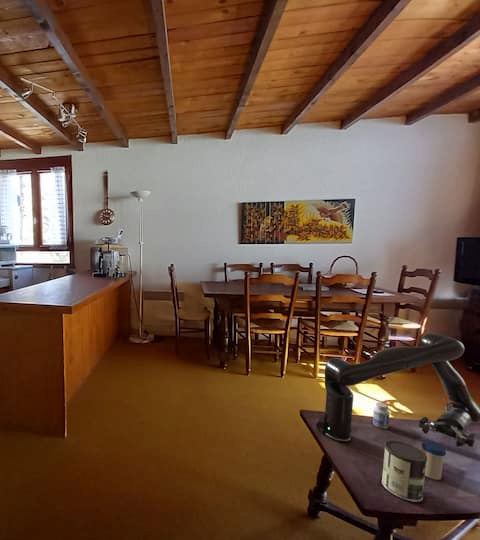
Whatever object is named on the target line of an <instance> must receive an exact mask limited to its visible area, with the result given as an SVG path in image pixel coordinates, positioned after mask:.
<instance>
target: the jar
mask: <svg viewBox="0 0 480 540" xmlns="http://www.w3.org/2000/svg"><path fill="white" fill-rule="evenodd" d="M421 451H422V452H423V453H425V455H426V456H427V461H426V470H425V477H427V478H429V479H432V480H436V481H439V480H442V475H443V467H444V459H445V456H437V455H434V454H431V453H429V452H427V451H425V450H424V449H423V448H422V447H421Z"/></svg>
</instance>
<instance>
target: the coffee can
mask: <svg viewBox="0 0 480 540" xmlns="http://www.w3.org/2000/svg"><path fill="white" fill-rule="evenodd" d="M426 461H427V456H426V455H425V453H423V452H422V449H419V447H416V446H414V445H412V444H409V443H407V442H403V441H400V440H395V439H391V440H386V441H385V442H384V455H383V464H382V465H383V466H382V477H381V484H382V485H383V487H384V488H385V489H386V490H387V491H388V492H390V493H391V494H392V495H394V496H396V497H398V498H400V499H401V500H405V501H407V502H412V503H420V502H422V501H423V500H424V488H425V487H424V486H425V478H426V476H425V470H426Z"/></svg>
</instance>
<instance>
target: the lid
mask: <svg viewBox="0 0 480 540" xmlns="http://www.w3.org/2000/svg"><path fill="white" fill-rule="evenodd" d="M422 448H423V449H424V450H425V451H427V452H429V453H431V454H434V455H437V456H444V457H445V456H446V454H447V453H446V452H447V450H446V448H445V446H443V445H442V444H440V443H438V442H436V441H433V440H427V439H425V440H423V441H422V443H421V449H422Z"/></svg>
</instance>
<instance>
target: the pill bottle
mask: <svg viewBox="0 0 480 540" xmlns="http://www.w3.org/2000/svg"><path fill="white" fill-rule="evenodd" d="M388 409H389V407H388V405H387V404H386V403H383V402H376V403H375V406H374V408H373V416H372V424H373V426H375V427H378V428H380V429H388V428H389V425H390V411H389V410H388Z"/></svg>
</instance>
